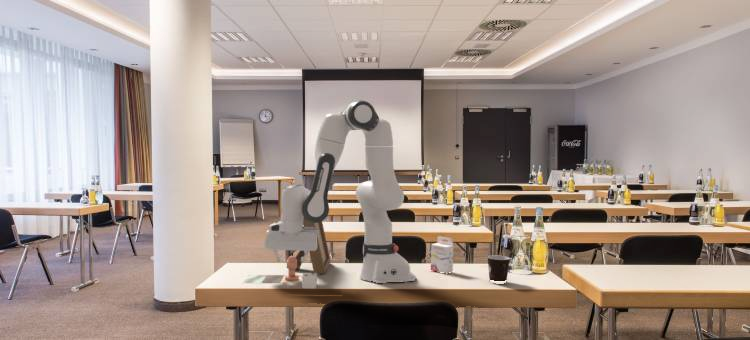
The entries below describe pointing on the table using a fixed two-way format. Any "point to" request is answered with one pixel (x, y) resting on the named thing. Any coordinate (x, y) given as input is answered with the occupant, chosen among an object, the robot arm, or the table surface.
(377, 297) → the table surface
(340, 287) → the table surface
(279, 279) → the track board
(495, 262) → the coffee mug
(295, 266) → the pawn
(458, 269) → the table surface
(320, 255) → the photo frame
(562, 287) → the table surface
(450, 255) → the ink cartridge box
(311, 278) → the die
